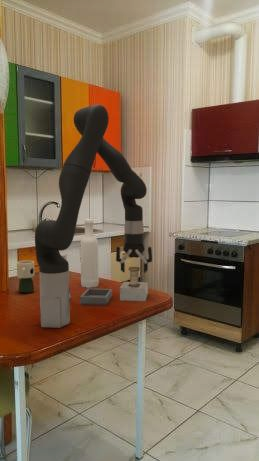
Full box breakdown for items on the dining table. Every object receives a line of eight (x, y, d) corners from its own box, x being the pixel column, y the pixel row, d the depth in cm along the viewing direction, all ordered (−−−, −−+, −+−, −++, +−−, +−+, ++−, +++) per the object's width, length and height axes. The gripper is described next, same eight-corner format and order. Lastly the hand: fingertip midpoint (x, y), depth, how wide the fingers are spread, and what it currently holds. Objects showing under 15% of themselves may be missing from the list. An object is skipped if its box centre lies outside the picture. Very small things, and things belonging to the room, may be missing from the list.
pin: (139, 299, 147) (139, 269, 146) (128, 298, 148) (127, 268, 147) (140, 295, 152) (140, 266, 150) (129, 295, 152) (129, 266, 151)
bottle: (78, 285, 169) (76, 219, 166) (93, 282, 174) (92, 218, 171) (86, 288, 163) (84, 220, 160) (101, 286, 167) (101, 219, 164)
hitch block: (145, 301, 144) (145, 288, 144) (120, 300, 145) (119, 287, 145) (147, 294, 154) (147, 282, 153) (123, 293, 155) (123, 281, 155)
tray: (106, 305, 139) (106, 297, 139) (80, 304, 140) (80, 296, 140) (112, 296, 151) (112, 289, 150) (87, 295, 152) (87, 288, 152)
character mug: (32, 295, 153) (31, 264, 151) (15, 296, 152) (13, 264, 151) (37, 288, 164) (36, 259, 162) (20, 289, 163) (19, 259, 161)
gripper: (114, 233, 144) (115, 274, 146) (151, 233, 142) (151, 274, 144) (117, 230, 152) (118, 269, 153) (152, 230, 150) (152, 270, 152)
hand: (134, 272), depth 149 cm, fingers open, 8 cm apart
